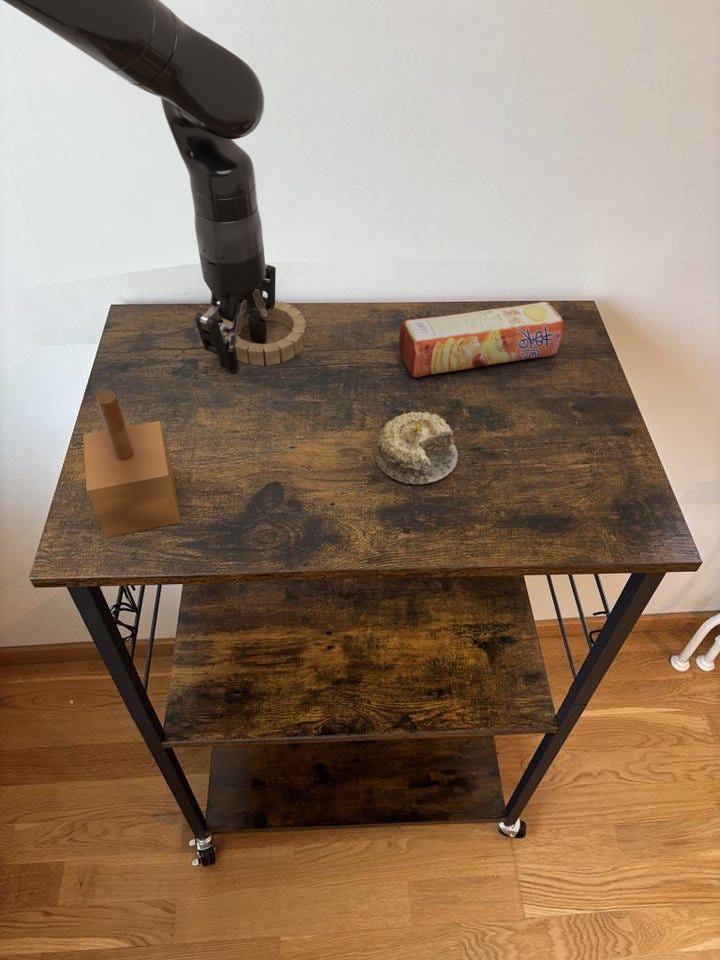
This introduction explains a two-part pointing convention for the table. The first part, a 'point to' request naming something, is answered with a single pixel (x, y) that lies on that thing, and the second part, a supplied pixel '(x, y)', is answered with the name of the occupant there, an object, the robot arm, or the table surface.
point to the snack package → (480, 338)
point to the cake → (416, 448)
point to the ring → (276, 350)
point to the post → (129, 473)
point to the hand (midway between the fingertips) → (244, 354)
